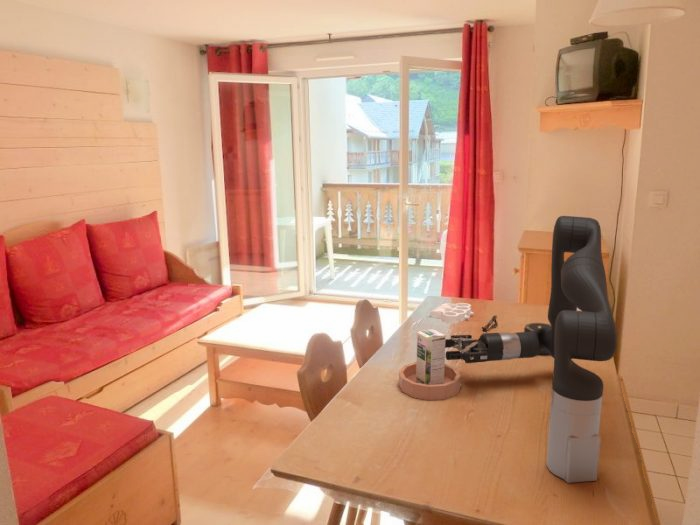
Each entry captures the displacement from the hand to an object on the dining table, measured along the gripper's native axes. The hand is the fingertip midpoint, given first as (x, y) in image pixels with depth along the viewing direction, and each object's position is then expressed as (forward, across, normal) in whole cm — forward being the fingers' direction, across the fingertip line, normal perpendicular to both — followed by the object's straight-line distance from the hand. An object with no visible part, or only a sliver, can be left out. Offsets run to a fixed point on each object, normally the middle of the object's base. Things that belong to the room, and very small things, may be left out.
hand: (441, 349), depth 147 cm
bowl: (+3, 0, +10) cm, 11 cm away
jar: (-38, -21, +11) cm, 45 cm away
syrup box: (+3, 0, +10) cm, 10 cm away
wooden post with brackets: (-30, -42, +11) cm, 53 cm away
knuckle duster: (-21, -58, +11) cm, 63 cm away
